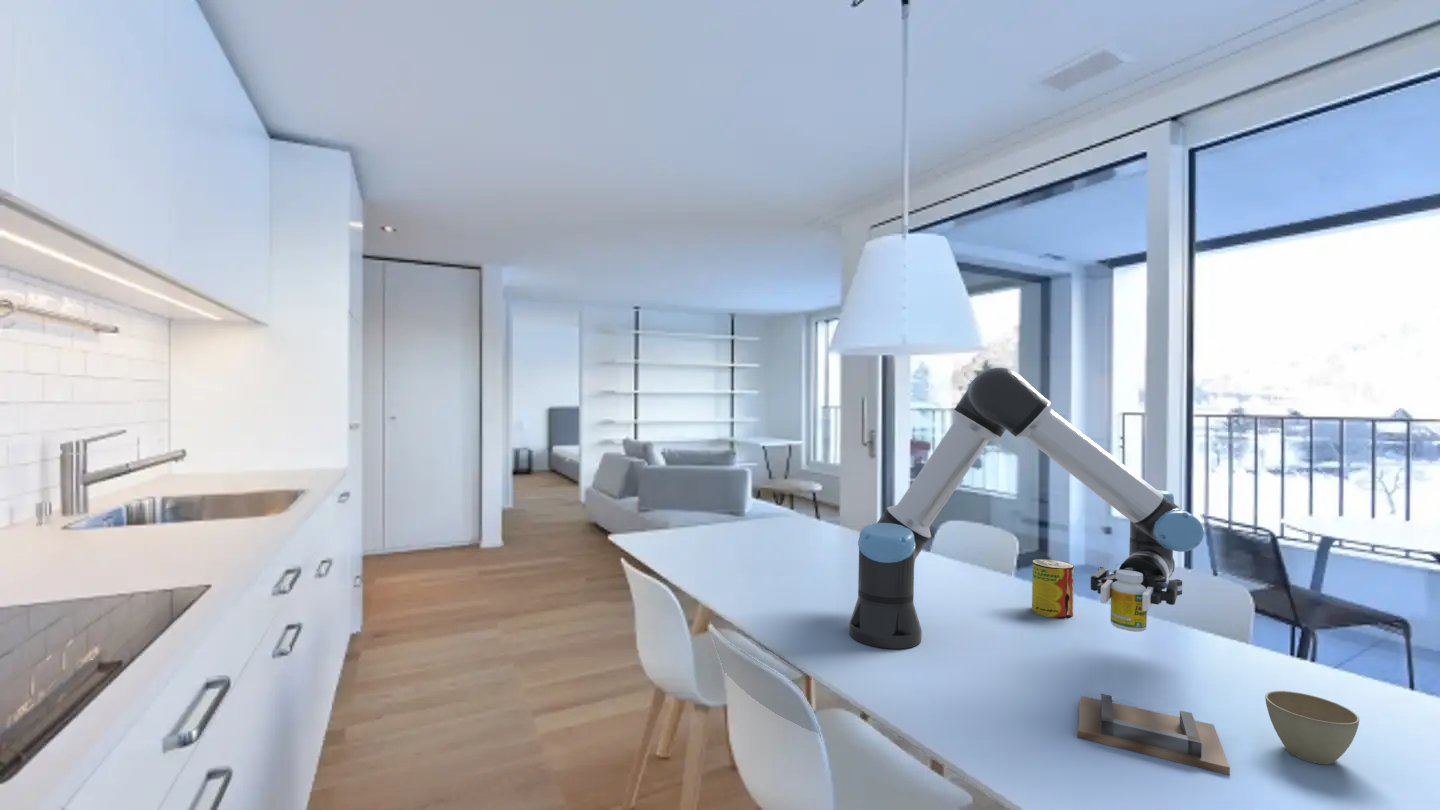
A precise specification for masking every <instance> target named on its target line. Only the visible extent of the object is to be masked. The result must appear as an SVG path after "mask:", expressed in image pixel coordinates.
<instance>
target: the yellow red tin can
mask: <svg viewBox="0 0 1440 810" xmlns="http://www.w3.org/2000/svg"><path fill="white" fill-rule="evenodd" d="M1074 574H1075V566H1074V564H1072V563H1070V562H1066V561H1064V560H1063V561H1062V560H1057V559H1046V558H1044V559H1043V558H1040V559H1034V560H1032V577H1031V578H1032V583H1031V586H1032V587H1031V593H1032V594H1031V610H1032V612H1033V613H1035V614H1038V615H1040V616H1044V617H1048V618H1054V619H1069V618H1073V616H1074V587H1075V585H1074V584H1075V582H1074V579H1075V575H1074Z"/></svg>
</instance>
